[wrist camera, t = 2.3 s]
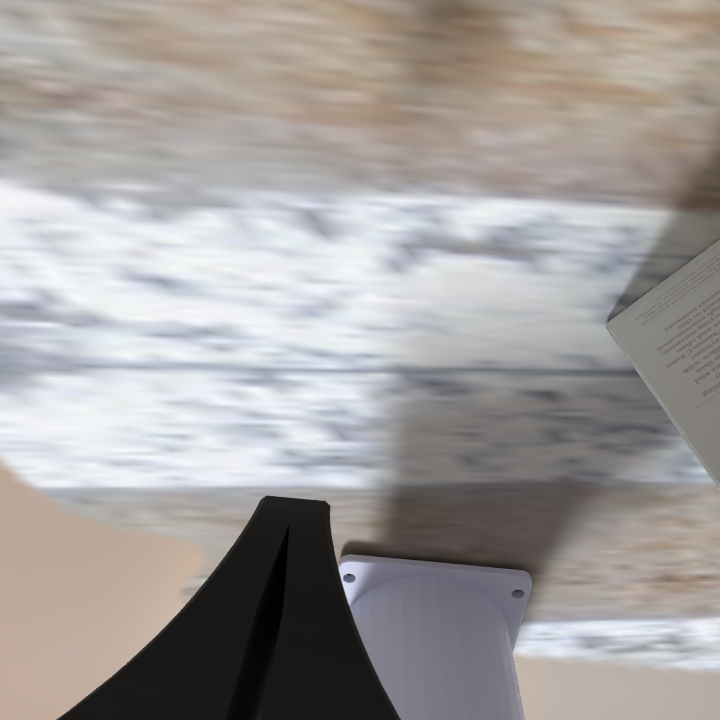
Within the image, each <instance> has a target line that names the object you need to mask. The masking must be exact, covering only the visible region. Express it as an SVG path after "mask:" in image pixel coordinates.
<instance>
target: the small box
mask: <svg viewBox="0 0 720 720" xmlns="http://www.w3.org/2000/svg"><path fill="white" fill-rule="evenodd" d="M606 328H607V330H608V331H609V333H610V334H611V336H612V337H613V339H614V340H615V341H616V343H617V344H618V346H619V347H620V348H621V350H622V351H623V352H624V354H625V355H626V357H627V358H628V359H629V361H630V362H631V364H632V365H633V367H634V368H635V369H636V371H637V372H638V374H639V375H640V376H641V378H642V379H643V381H644V382H645V384H646V385H647V386H648V388H649V389H650V391H651V392H652V394H653V395H654V396H655V398H656V399H657V401H658V402H659V404H660V405H661V406H662V408H663V409H664V411H665V412H666V414H667V415H668V417H669V418H670V420H671V421H672V423H673V424H674V426H675V427H676V429H677V430H678V432H679V433H680V435H681V436H682V438H683V439H684V440H685V442H686V443H687V445H688V446H689V447H690V449H691V450H692V452H693V453H694V455H695V456H696V457H697V459H698V460H699V462H700V463H701V464H702V466H703V467H704V469H705V470H706V471H707V473H708V474H709V476H710V477H711V479H712V480H713V481H714V483H715V484H716V486H717V487H718V489H719V490H720V239H719V240H718V241H717V242H715V243H714V244H713V245H711V246H710V247H709V248H707V249H706V250H705V251H703V252H702V253H701V254H699V255H698V256H697V257H695V258H694V259H692V260H691V261H690V262H688V263H687V264H686V265H684V266H683V267H682V268H680V269H679V270H677V271H676V272H675V273H673V274H672V275H671V276H669V277H668V278H666V279H665V280H664V281H662V282H661V283H659V284H658V285H657V286H656V287H654V288H653V289H652V290H650V291H649V292H647V293H646V294H645V295H643V296H642V297H641V298H639V299H638V300H637V301H635V302H634V303H633V304H632V305H630V306H629V307H628V308H626V309H625V310H624V311H622V312H621V313H620V314H618V315H617V316H616V317H614V318H613V319H612V320H610V321H609V322H608V323H607V325H606Z"/></svg>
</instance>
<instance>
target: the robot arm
mask: <svg viewBox="0 0 720 720" xmlns="http://www.w3.org/2000/svg"><path fill="white" fill-rule="evenodd" d="M346 574H353V575H351V576H349V575H346ZM531 588H532V579H531V576H530V574H529V573H528V572H526V571H523V570H514V569H503V568H492V567H482V566H471V565H460V564H450V563H439V562H428V561H417V560H407V559H396V558H385V557H375V556H364V555H353V554H349V555H345V556H343V557H341V558H340V560H339V565H337V561H336V557H335V552H334V547H333V541H332V535H331V527H330V505H329V504H328V503H327V502H326V501H318V500H308V499H297V498H286V497H276V496H265V497H264V498H262V499H261V500H260V502H259V504H258V506H257V508H256V510H255V512H254V514H253V515H252V517H251V519H250V520H249V522H248V524H247V525H246V527H245V528H244V530H243V531H242V533H241V534H240V536H239V537H238V539H237V540H236V542H235V543H234V545H233V546H232V547H231V549H230V550H229V551H228V553H227V554H226V556H225V557H224V558H223V560H222V561H221V562H220V564H219V565H218V567H217V568H216V569H215V570H214V572H213V573H212V574H211V575H210V577H209V578H208V579H207V580H206V581H205V583H204V584H203V585H202V586H201V588H200V589H199V590H198V591H197V592H196V594H195V595H194V596H193V597H192V598H191V600H190V601H189V602H188V603H187V604H186V605H185V606H184V607H183V609H182V610H181V611H180V612H179V613H178V614H177V615H176V616H175V617H174V618H173V619H172V620H171V622H169V624H168V625H167V626H166V627H165V628H164V629H163V630H162V631H161V632H160V633H159V634H158V635H157V636H156V637H155V638H154V639H153V640H152V641H150V642H149V643H148V644H147V645H146V646H145V647H144V648H143V649H142V650H141V651H140V652H139V653H138V654H137V655H136V656H134V657H133V658H132V659H131V660H130V661H129V662H128V663H127V664H126V665H125V666H123V667H122V668H121V669H120V670H119V671H118V672H117V673H115V674H114V675H113V676H112V677H111V678H109V679H108V680H107V681H106V682H104V683H103V684H102V685H101V686H99V687H98V688H97V689H96V690H94V691H93V692H92V693H91V694H89V695H88V696H87V697H86V698H84V699H83V700H82V701H81V702H79V703H78V704H77V705H76V706H74V707H73V708H72V709H71V710H69V711H68V712H66V713H65V714H64V715H62V716H61V717H60V718H58V719H57V720H525V717H524V712H523V707H522V702H521V696H520V691H519V686H518V681H517V675H516V670H515V665H514V659H513V654H512V653H513V649H514V646H515V643H516V639H517V636H518V632H519V629H520V626H521V622H522V619H523V616H524V612H525V609H526V605H527V602H528V599H529V595H530V592H531ZM515 590H519V591H515Z"/></svg>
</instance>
